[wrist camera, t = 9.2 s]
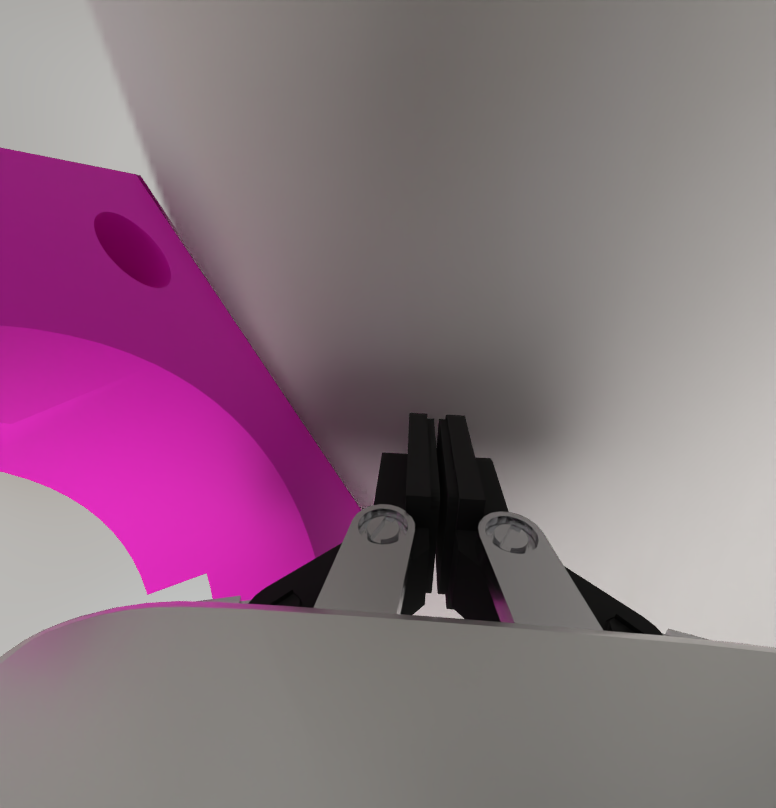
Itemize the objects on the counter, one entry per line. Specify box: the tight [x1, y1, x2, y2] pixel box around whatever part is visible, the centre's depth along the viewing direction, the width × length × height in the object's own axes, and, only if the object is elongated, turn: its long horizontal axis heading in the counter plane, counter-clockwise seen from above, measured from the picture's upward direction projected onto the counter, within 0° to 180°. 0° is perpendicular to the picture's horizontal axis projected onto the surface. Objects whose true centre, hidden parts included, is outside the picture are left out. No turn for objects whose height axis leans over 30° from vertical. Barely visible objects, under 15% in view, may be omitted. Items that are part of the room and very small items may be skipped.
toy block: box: [0, 148, 361, 601], centre depth 10 cm, size 15×6×8 cm, turn 27°
